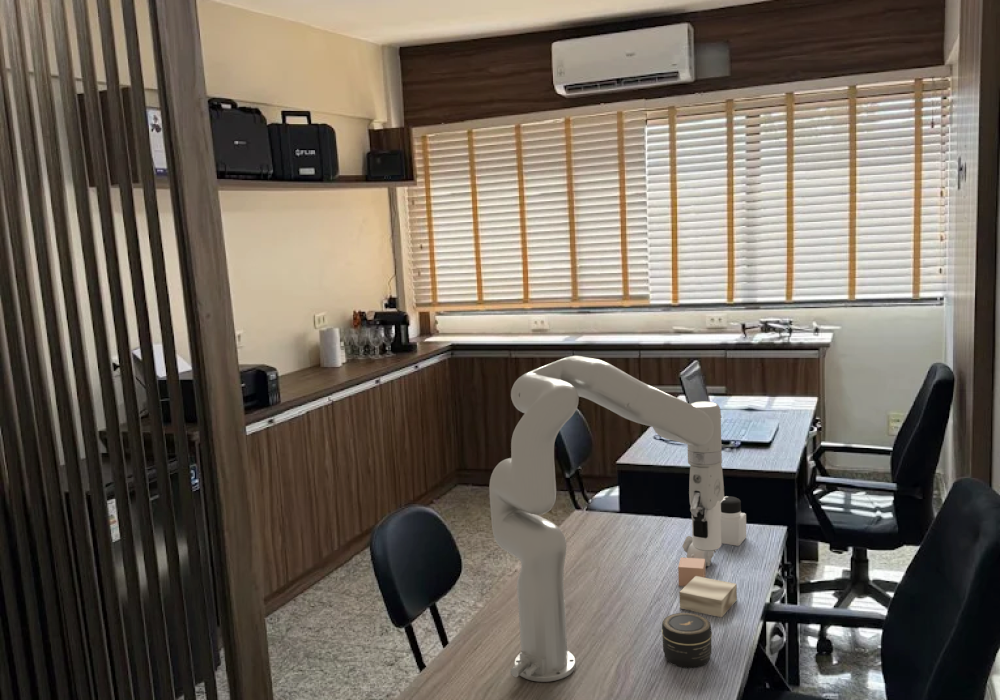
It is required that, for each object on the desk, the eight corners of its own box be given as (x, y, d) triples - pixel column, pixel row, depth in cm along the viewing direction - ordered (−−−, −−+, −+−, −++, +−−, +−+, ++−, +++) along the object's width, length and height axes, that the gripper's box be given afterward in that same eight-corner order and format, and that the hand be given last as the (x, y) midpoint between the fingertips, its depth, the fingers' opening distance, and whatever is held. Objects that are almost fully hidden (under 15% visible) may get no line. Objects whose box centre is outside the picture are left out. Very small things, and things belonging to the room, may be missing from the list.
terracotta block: (703, 588, 207) (703, 568, 206) (678, 586, 209) (678, 566, 208) (705, 577, 212) (705, 558, 212) (681, 576, 214) (680, 557, 214)
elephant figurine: (723, 561, 221) (723, 535, 220) (704, 573, 215) (704, 547, 213) (697, 554, 227) (697, 529, 226) (678, 566, 220) (677, 540, 219)
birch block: (721, 617, 191) (721, 600, 190) (679, 608, 197) (679, 591, 196) (736, 599, 199) (736, 583, 198) (696, 591, 205) (695, 575, 204)
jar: (722, 656, 175) (721, 621, 173) (694, 675, 168) (693, 639, 167) (681, 640, 182) (680, 607, 181) (652, 659, 175) (651, 624, 174)
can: (687, 543, 198) (685, 494, 196) (711, 539, 200) (710, 490, 198) (702, 553, 192) (700, 502, 190) (727, 548, 194) (725, 498, 192)
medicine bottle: (746, 537, 236) (746, 496, 235) (739, 546, 231) (738, 504, 229) (721, 533, 240) (720, 493, 238) (713, 542, 234) (712, 500, 233)
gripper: (706, 468, 183) (708, 547, 186) (733, 448, 197) (735, 522, 200) (673, 464, 188) (676, 541, 190) (703, 445, 202) (704, 517, 204)
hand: (706, 531), depth 195 cm, fingers closed on can, 6 cm apart
